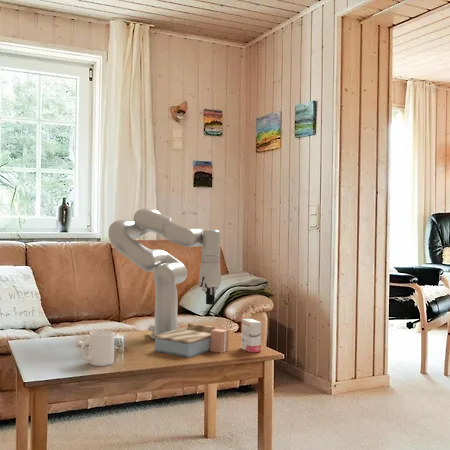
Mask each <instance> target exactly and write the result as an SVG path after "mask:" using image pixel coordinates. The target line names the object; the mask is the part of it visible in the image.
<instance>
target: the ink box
mask: <svg viewBox="0 0 450 450" xmlns="http://www.w3.org/2000/svg"><path fill="white" fill-rule="evenodd" d="M240 336H241V337H240V349H242V350H244V351H246V352H248V353H250V354H251V353H260V352H261V347H262V346H261V345H262V344H261V343H262V340H261V339H262V322H261V321H259V320H255V319H254V318H242V319H241V335H240Z"/></svg>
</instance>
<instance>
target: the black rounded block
mask: <svg viewBox="0 0 450 450" xmlns="http://www.w3.org/2000/svg"><path fill="white" fill-rule="evenodd" d="M88 338H89V335H87V339H88ZM84 341H85V340H84ZM84 341H82V340H80V341H78V343H77V345H78V346H80V347H82V344H83V343H84ZM83 348H85V349H86V348H88V349H89V343H88V344H86V345H85V346H84V347H83Z"/></svg>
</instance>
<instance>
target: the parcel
mask: <svg viewBox="0 0 450 450" xmlns="http://www.w3.org/2000/svg"><path fill="white" fill-rule="evenodd" d="M229 332H230V331H229V329H223V328H215V329H214V330H211V342H210V352H212V353H213V352H214V353H218V352H219V354H222V352H223V353H226V352H228V351H229ZM225 351H226V352H225Z"/></svg>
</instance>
